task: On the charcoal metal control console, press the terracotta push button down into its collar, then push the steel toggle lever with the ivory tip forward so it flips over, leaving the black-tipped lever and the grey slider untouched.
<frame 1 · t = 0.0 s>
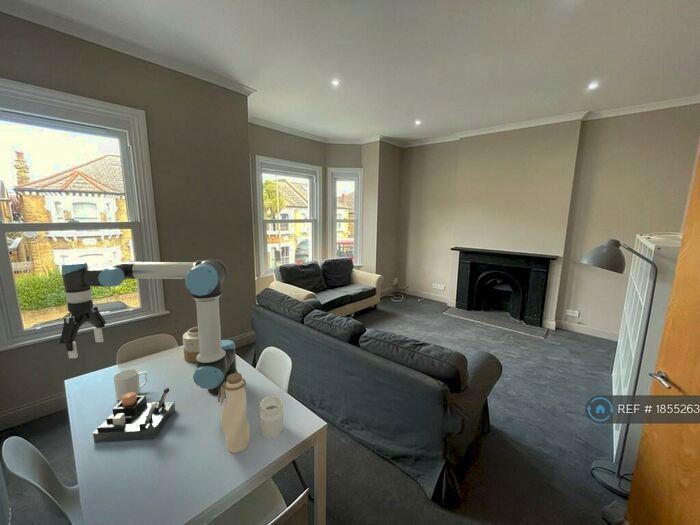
hand: (87, 349, 118), 28 cm above the table, fingers open, 13 cm apart
lever b: (163, 396, 119), point 9 cm above the table, hinge at -25.0°
button: (129, 400, 117), point 8 cm above the table, slide at 0.0 cm
mug: (133, 395, 134), on the table
vase: (199, 356, 170), on the table
water bottle: (236, 445, 107), on the table
lever a: (151, 411, 110), point 9 cm above the table, hinge at -25.0°
panel: (137, 425, 115), on the table
vase 2: (271, 429, 115), on the table
slider: (119, 420, 109), point 6 cm above the table, slide at -1.5 cm
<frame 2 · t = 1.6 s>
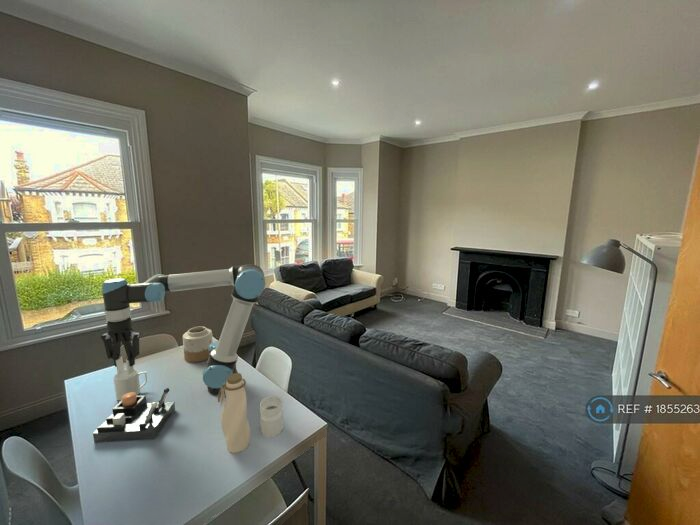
hand: (126, 373, 115), 21 cm above the table, fingers open, 3 cm apart
nothing on the table moved.
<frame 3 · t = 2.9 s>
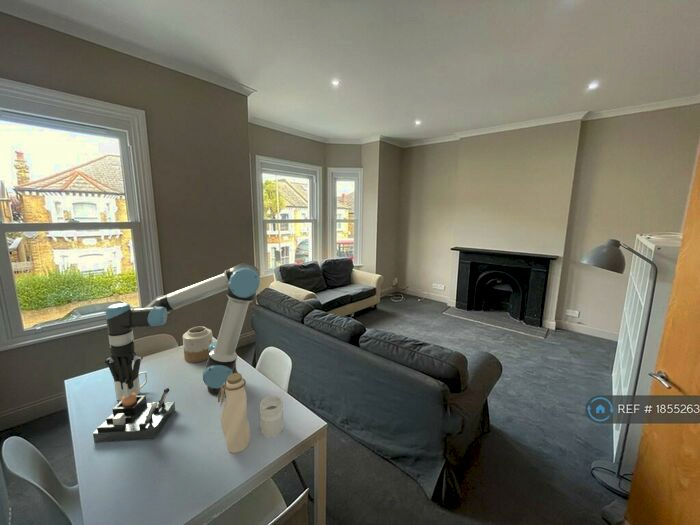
hand: (128, 395, 117), 10 cm above the table, fingers closed
button: (129, 400, 117), point 8 cm above the table, slide at 0.2 cm, touching gripper
everything else where it was.
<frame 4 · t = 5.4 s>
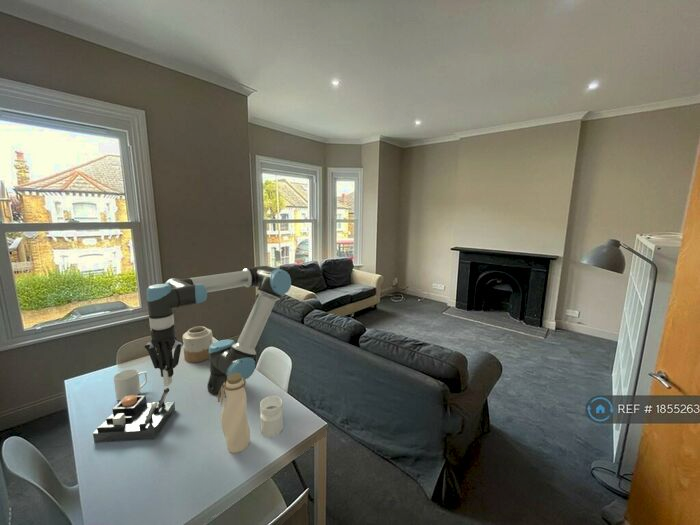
hand: (168, 383, 109), 20 cm above the table, fingers closed
button: (129, 403, 118), point 7 cm above the table, slide at 1.4 cm
everything else where it was.
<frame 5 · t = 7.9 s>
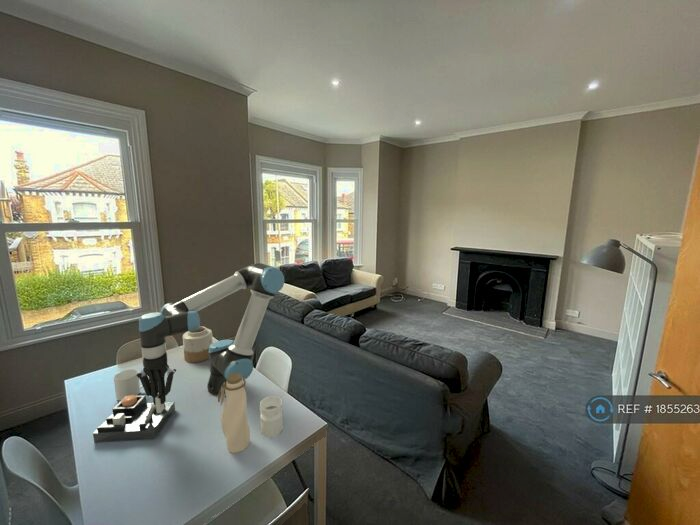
hand: (160, 410, 110), 10 cm above the table, fingers closed
lever a: (151, 411, 110), point 9 cm above the table, hinge at -25.0°, touching gripper
everything else where it was.
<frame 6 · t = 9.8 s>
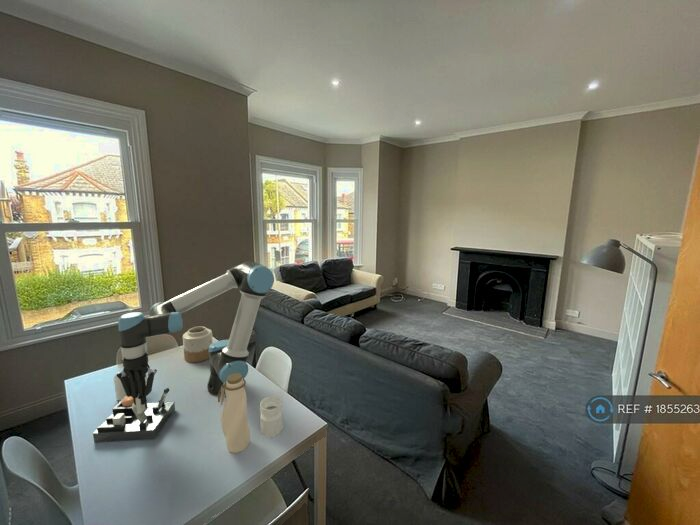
hand: (141, 411, 109), 10 cm above the table, fingers closed
lever a: (139, 412, 109), point 9 cm above the table, hinge at 21.1°, touching gripper
everything else where it was.
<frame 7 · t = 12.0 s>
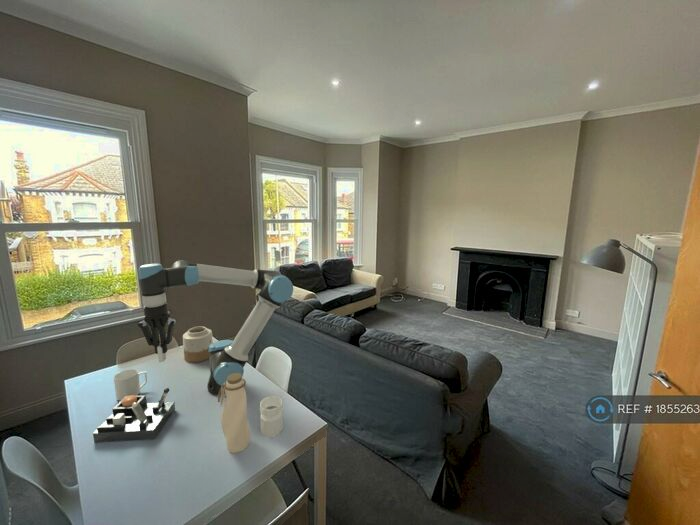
hand: (162, 360, 114), 27 cm above the table, fingers closed
lever a: (139, 412, 109), point 9 cm above the table, hinge at 21.1°
everything else where it was.
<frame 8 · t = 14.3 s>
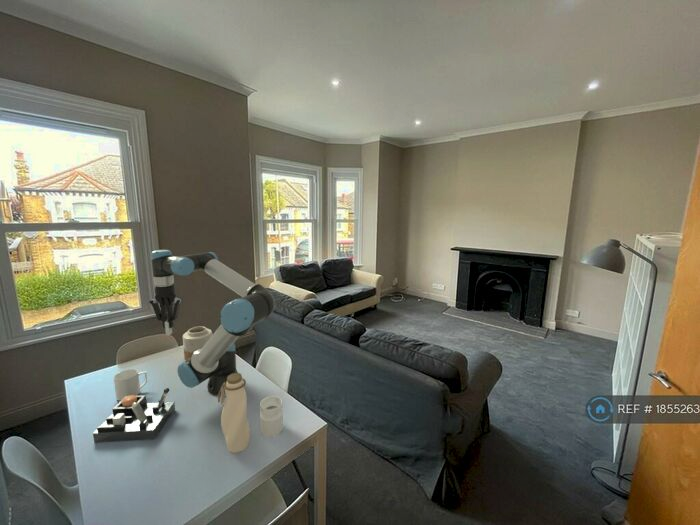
hand: (169, 334, 131), 29 cm above the table, fingers closed
nothing on the table moved.
at the end: lever a at +21° (first picture: -25°); button slide at 1.4 cm; lever b at -25° (first picture: -25°) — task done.
